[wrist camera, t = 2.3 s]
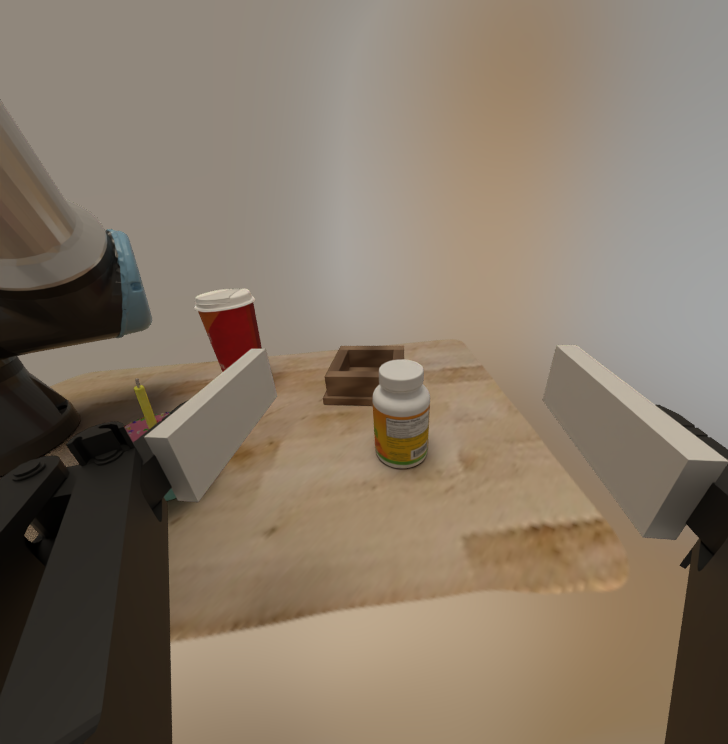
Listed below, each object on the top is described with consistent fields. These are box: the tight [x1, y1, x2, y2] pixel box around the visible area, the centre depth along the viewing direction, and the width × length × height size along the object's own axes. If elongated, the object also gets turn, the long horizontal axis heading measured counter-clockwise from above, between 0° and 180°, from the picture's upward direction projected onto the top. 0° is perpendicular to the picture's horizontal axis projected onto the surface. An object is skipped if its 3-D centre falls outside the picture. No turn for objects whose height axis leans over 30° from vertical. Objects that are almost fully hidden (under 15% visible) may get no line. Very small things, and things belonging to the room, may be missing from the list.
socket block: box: [323, 346, 404, 406], centre depth 42 cm, size 11×11×4 cm
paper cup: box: [194, 289, 262, 372], centre depth 42 cm, size 8×8×14 cm
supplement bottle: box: [373, 359, 430, 468], centre depth 28 cm, size 5×5×10 cm
